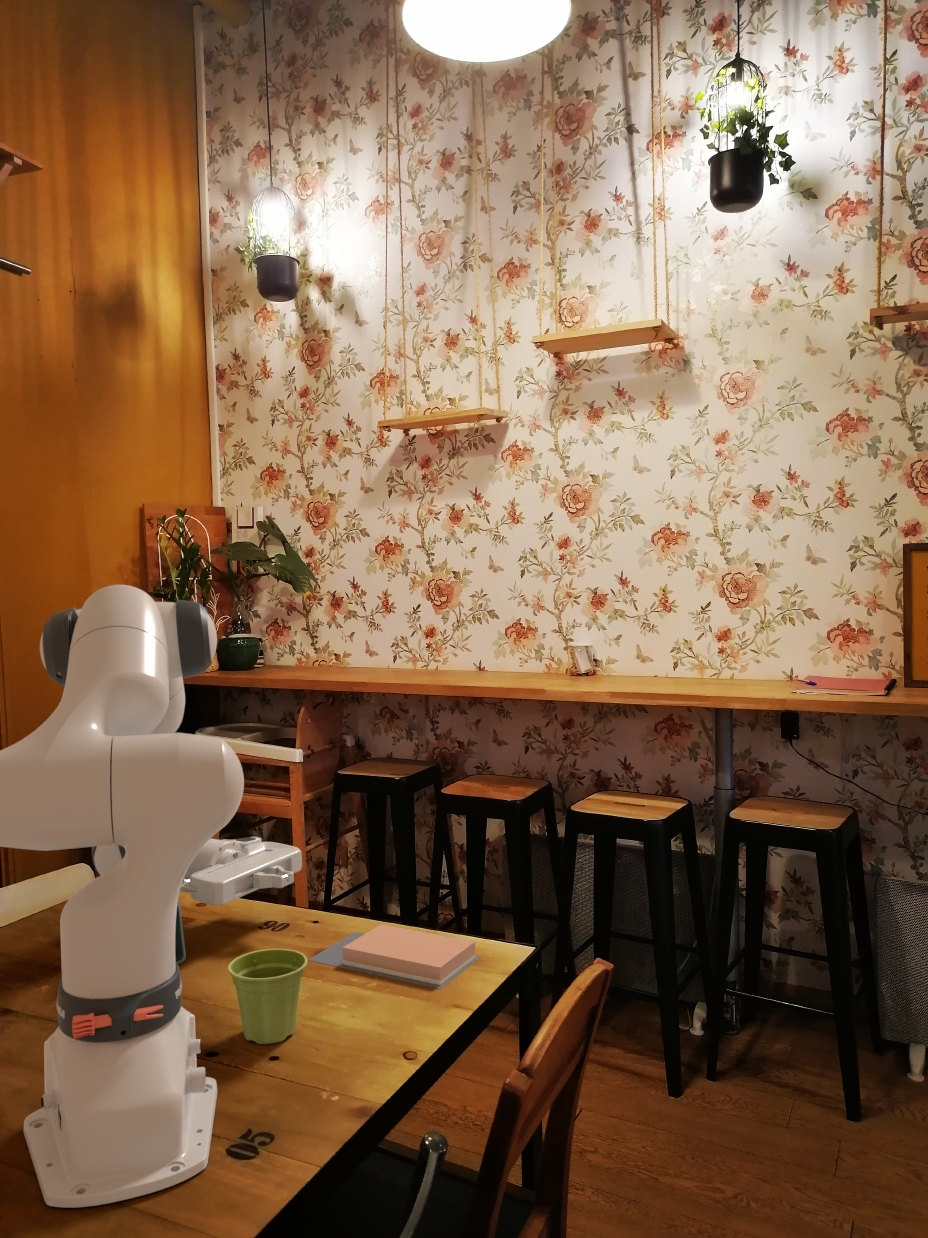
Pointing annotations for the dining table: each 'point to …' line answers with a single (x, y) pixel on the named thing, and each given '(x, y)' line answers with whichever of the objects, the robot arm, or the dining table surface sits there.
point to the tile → (409, 954)
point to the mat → (335, 958)
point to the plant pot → (268, 992)
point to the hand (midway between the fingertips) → (288, 880)
